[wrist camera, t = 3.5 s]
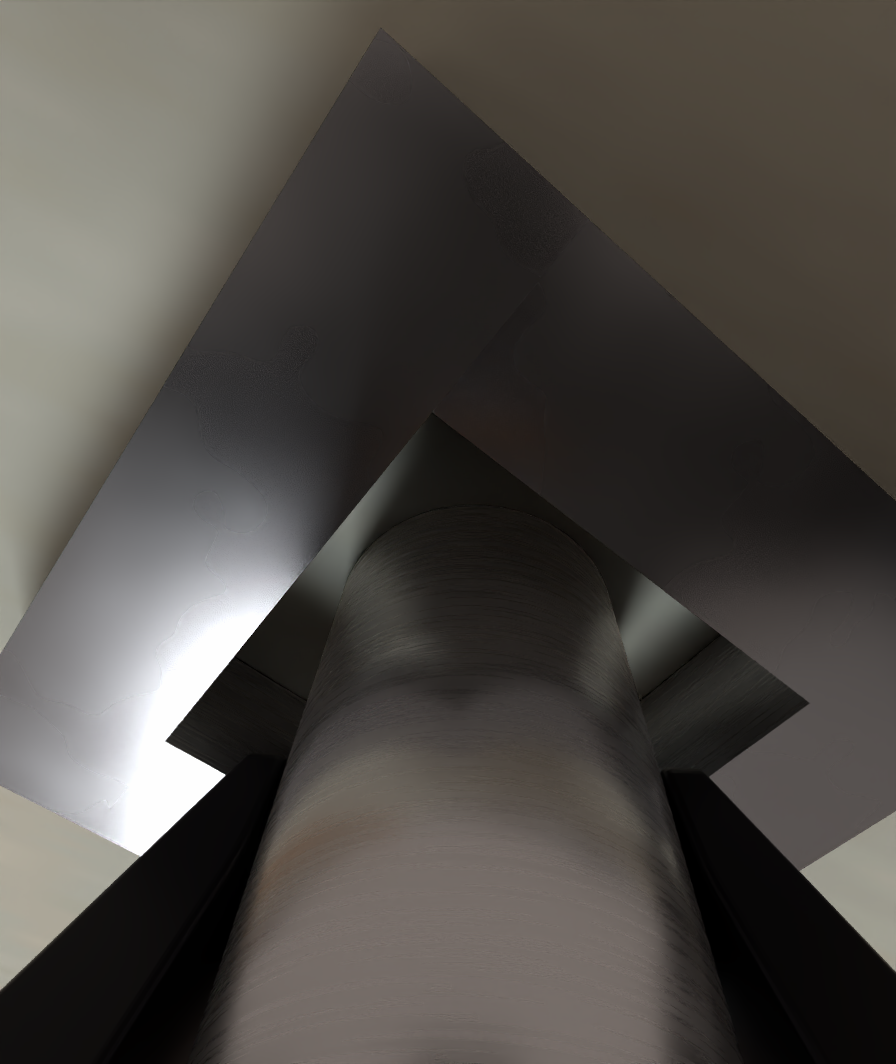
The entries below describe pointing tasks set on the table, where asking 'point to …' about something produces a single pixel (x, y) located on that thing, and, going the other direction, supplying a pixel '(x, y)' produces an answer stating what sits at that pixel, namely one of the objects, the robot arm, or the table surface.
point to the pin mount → (499, 431)
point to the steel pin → (470, 831)
